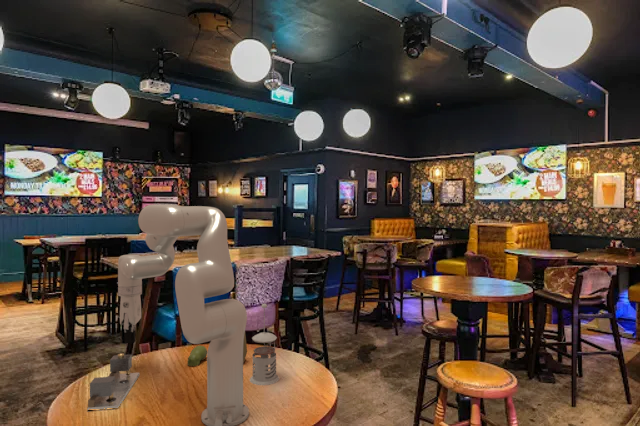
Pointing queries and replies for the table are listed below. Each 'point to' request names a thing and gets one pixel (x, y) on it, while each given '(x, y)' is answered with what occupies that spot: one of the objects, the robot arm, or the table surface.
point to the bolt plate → (119, 392)
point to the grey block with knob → (121, 363)
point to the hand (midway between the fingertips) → (129, 342)
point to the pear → (197, 355)
